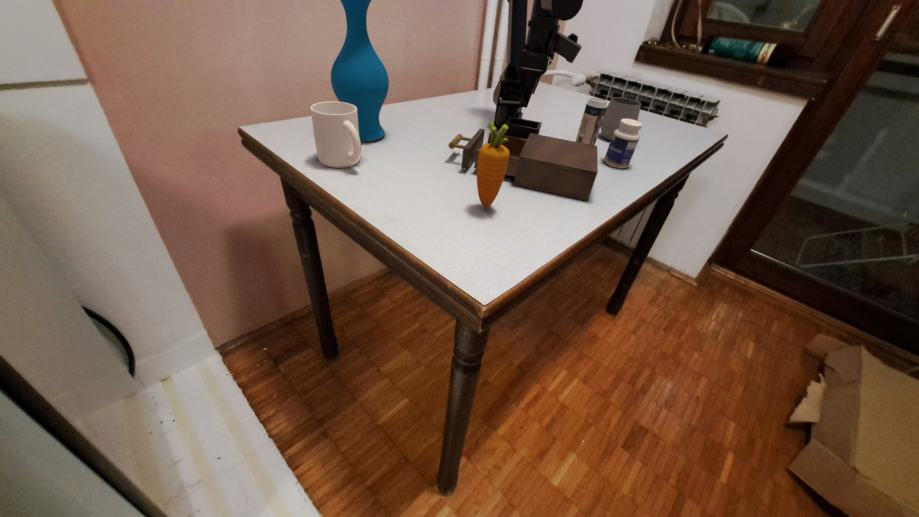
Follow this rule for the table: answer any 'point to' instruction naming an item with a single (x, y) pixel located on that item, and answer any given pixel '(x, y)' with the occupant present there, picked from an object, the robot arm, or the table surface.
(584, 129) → the spice jar
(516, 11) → the robot arm
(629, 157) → the pill bottle
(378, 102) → the vase
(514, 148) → the drawer
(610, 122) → the cup
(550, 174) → the cabinet
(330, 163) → the mug
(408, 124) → the table surface
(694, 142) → the table surface
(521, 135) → the black open box
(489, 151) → the carrot
